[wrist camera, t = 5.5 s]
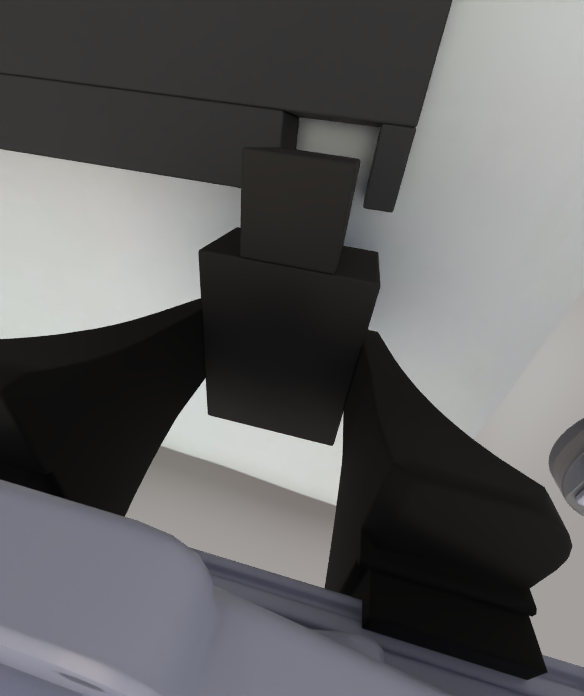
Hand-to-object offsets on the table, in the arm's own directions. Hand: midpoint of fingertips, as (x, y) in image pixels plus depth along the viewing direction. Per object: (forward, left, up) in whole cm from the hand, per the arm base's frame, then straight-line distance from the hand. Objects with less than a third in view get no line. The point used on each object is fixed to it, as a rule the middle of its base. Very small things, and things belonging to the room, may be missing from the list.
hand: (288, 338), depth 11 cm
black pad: (0, -1, -1) cm, 2 cm away
